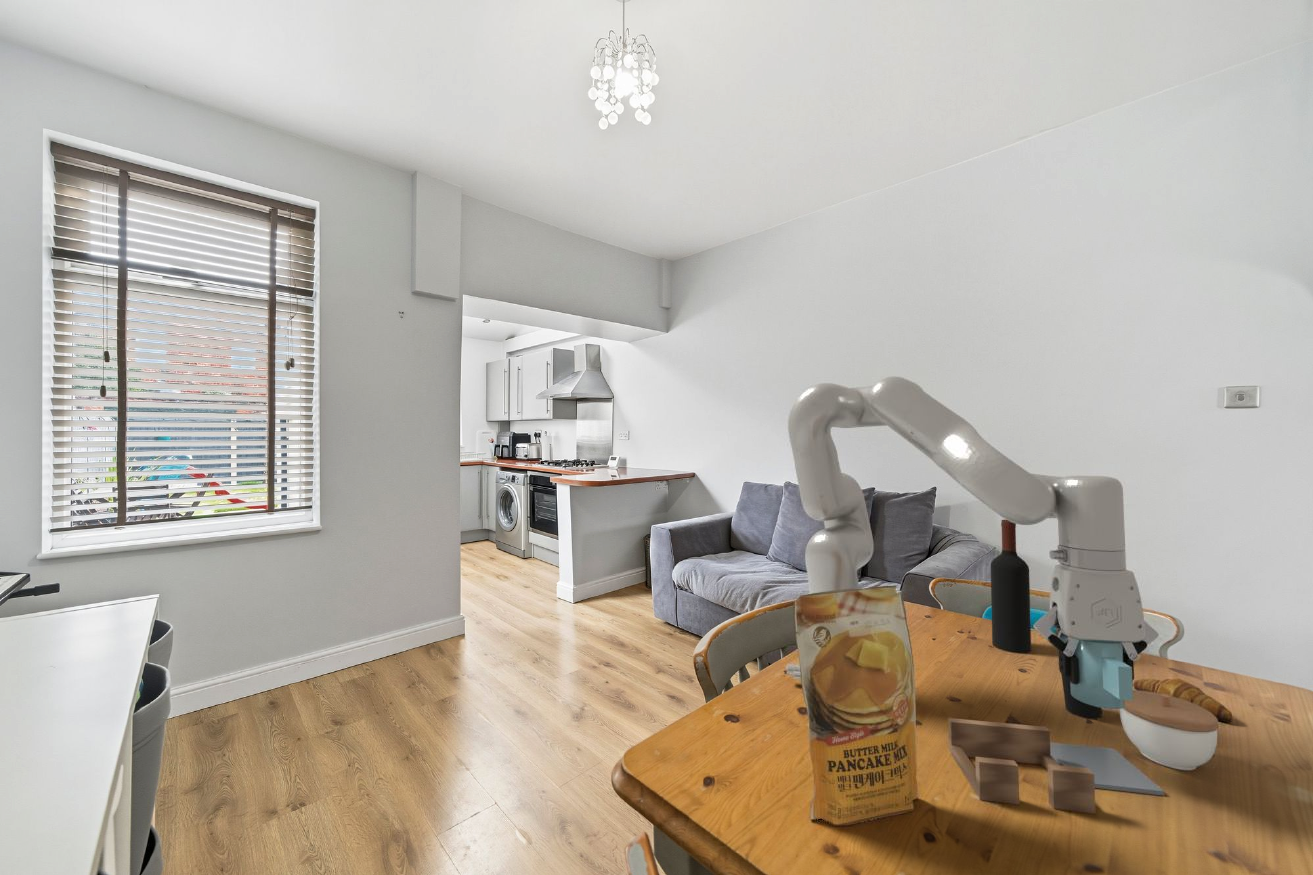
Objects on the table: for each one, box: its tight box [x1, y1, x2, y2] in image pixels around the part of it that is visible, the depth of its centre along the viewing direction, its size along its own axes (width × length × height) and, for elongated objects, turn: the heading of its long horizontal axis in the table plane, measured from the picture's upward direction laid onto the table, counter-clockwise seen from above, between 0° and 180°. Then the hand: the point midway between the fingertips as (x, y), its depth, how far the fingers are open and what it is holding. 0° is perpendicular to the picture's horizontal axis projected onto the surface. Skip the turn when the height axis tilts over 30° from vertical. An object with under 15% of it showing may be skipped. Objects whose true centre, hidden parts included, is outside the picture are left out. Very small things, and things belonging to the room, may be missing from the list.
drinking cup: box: [1053, 628, 1103, 720], centre depth 91 cm, size 8×8×20 cm
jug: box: [1070, 640, 1134, 710], centre depth 73 cm, size 6×9×11 cm, turn 168°
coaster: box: [1050, 741, 1165, 797], centre depth 74 cm, size 10×10×1 cm
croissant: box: [1133, 678, 1233, 723], centre depth 92 cm, size 14×7×5 cm, turn 20°
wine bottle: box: [990, 519, 1032, 654], centre depth 121 cm, size 8×8×30 cm
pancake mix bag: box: [792, 585, 920, 827], centre depth 67 cm, size 7×19×28 cm, turn 104°
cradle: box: [947, 717, 1096, 814], centre depth 72 cm, size 13×11×5 cm
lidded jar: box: [1118, 689, 1219, 771], centre depth 77 cm, size 11×11×9 cm
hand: (1096, 680), depth 75 cm, fingers closed on jug, 6 cm apart
